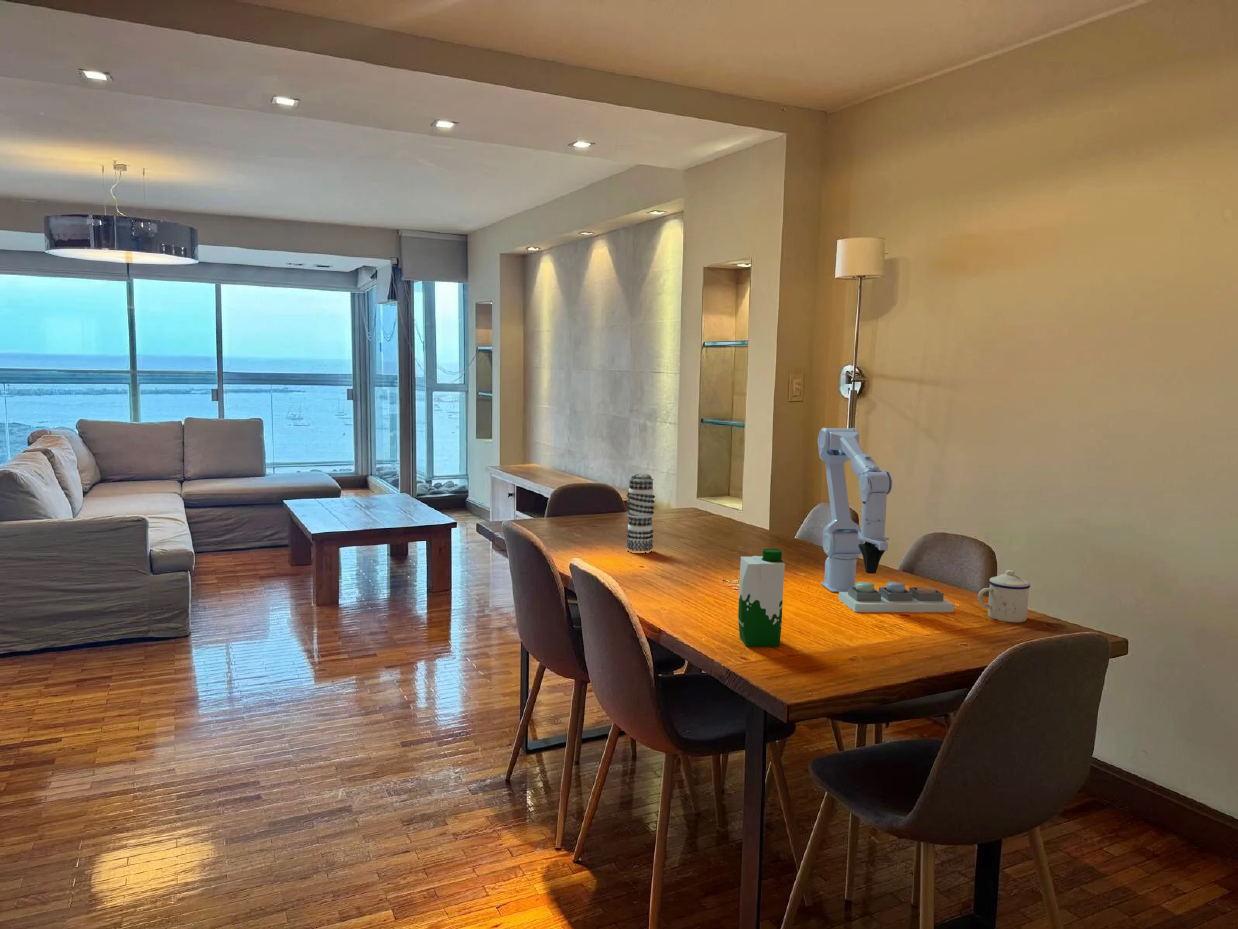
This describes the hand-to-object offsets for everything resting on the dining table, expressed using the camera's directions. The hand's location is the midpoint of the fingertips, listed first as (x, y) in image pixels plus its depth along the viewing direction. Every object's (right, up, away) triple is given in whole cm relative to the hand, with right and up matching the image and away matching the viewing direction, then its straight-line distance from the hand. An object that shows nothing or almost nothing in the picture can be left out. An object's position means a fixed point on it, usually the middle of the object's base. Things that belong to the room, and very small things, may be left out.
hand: (870, 573), depth 214 cm
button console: (+6, -8, +1) cm, 11 cm away
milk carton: (-33, -11, -31) cm, 46 cm away
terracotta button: (+14, -6, +2) cm, 16 cm away
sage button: (-1, -5, 0) cm, 5 cm away
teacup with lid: (+29, -10, -8) cm, 32 cm away
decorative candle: (-57, -1, +62) cm, 84 cm away
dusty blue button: (+7, -5, +1) cm, 8 cm away
